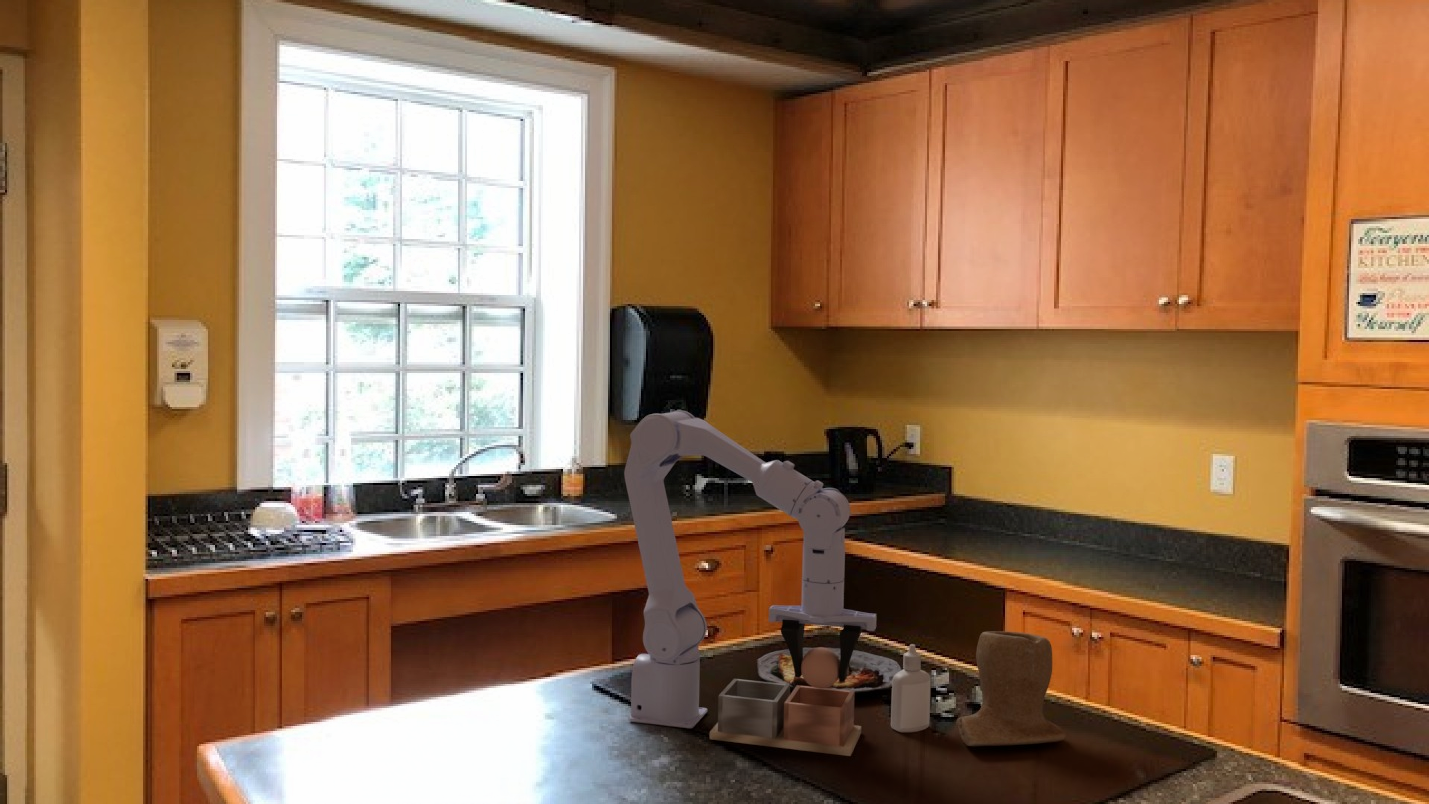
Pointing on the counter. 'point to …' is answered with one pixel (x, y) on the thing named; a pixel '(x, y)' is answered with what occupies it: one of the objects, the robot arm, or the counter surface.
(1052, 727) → the brown flared upright piece
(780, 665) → the food plate
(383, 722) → the counter surface
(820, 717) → the sorting bin tray
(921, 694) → the eye dropper bottle
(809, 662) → the terracotta ball
